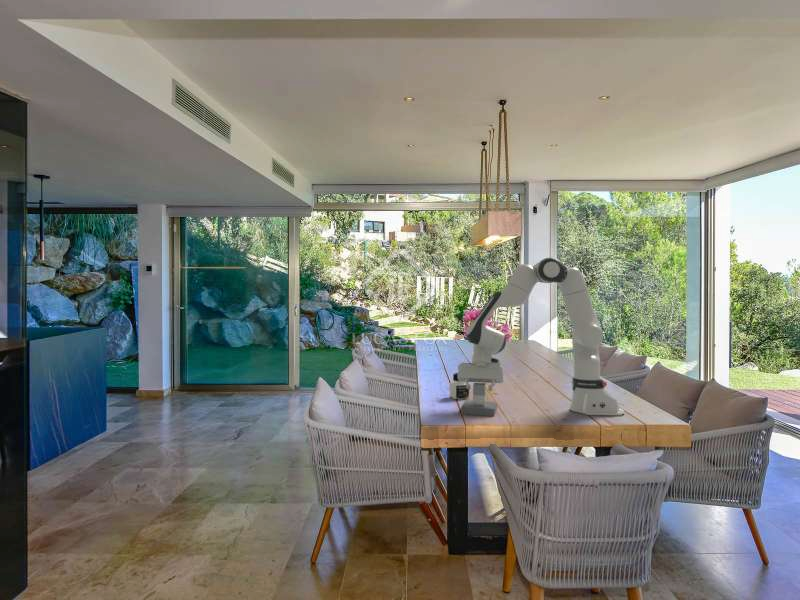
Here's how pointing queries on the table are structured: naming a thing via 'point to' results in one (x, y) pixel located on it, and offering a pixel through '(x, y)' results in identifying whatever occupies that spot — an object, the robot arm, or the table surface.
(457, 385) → the medicine bottle
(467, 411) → the charcoal stand
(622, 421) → the table surface
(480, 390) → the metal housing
